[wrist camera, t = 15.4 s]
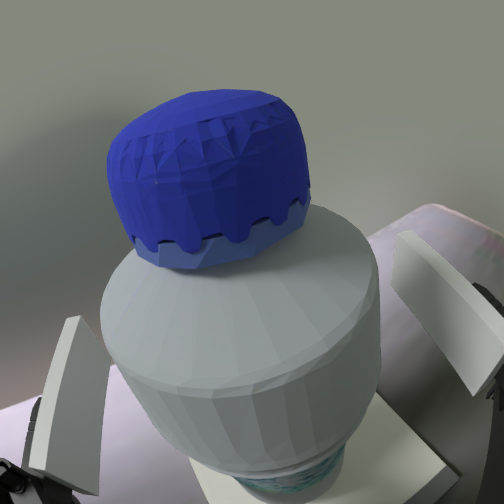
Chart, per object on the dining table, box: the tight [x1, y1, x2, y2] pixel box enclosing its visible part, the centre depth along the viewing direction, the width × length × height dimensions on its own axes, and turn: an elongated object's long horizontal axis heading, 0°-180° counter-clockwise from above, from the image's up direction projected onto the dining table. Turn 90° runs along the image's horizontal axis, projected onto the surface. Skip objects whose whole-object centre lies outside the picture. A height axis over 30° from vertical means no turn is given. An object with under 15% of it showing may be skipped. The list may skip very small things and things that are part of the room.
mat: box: [188, 392, 459, 504], centre depth 15 cm, size 14×15×1 cm
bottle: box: [100, 89, 381, 504], centre depth 10 cm, size 7×7×20 cm
